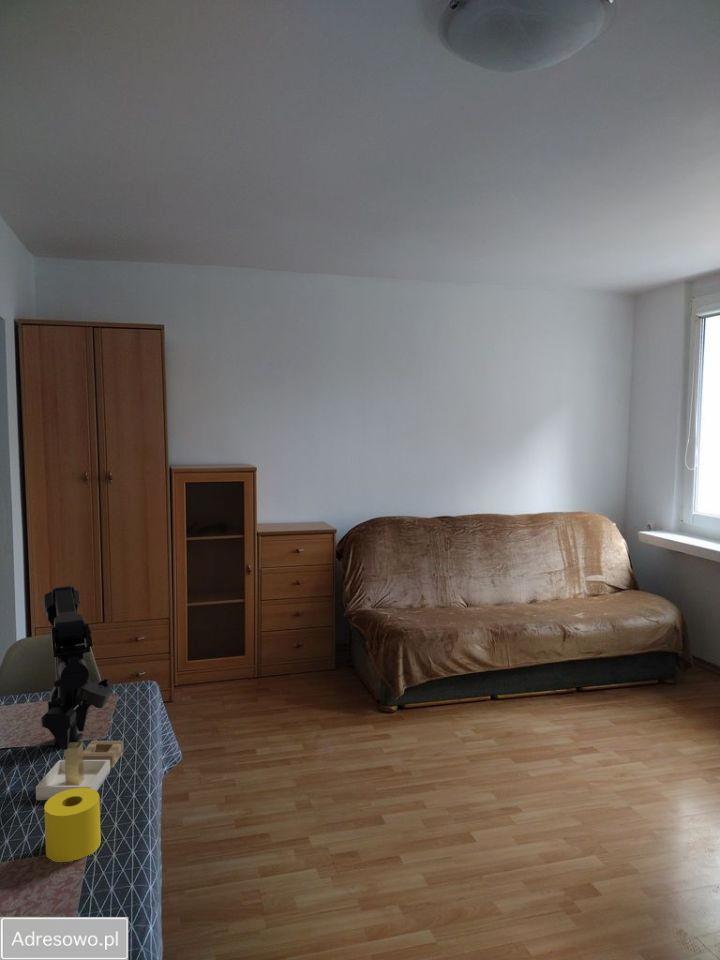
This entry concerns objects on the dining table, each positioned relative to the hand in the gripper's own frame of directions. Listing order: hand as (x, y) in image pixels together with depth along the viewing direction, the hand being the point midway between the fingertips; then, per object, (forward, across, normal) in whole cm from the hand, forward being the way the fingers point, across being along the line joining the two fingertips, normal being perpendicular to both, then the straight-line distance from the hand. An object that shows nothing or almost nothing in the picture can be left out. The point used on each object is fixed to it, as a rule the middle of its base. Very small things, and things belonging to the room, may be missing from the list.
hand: (73, 740), depth 156 cm
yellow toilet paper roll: (+11, -23, -9) cm, 27 cm away
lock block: (+11, +12, -2) cm, 16 cm away
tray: (+11, 0, 0) cm, 11 cm away
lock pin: (+10, 0, 0) cm, 10 cm away
